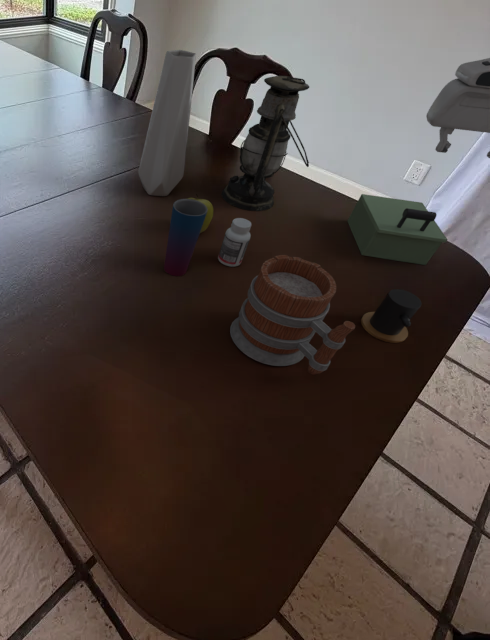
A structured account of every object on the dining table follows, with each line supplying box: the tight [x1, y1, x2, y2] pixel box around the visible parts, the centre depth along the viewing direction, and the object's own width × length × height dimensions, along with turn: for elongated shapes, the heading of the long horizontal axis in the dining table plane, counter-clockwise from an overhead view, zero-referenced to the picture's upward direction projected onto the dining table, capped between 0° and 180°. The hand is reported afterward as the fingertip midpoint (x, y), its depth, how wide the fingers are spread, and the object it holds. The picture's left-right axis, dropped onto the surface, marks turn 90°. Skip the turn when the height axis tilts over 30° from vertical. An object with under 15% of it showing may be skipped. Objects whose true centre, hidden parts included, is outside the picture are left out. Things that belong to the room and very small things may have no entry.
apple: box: [187, 193, 214, 234], centre depth 106 cm, size 8×8×10 cm
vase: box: [137, 49, 197, 197], centre depth 111 cm, size 12×12×33 cm
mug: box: [229, 254, 356, 376], centre depth 76 cm, size 14×19×15 cm
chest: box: [346, 196, 443, 266], centre depth 108 cm, size 17×15×7 cm
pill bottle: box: [217, 217, 252, 268], centre depth 97 cm, size 5×5×10 cm
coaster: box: [360, 311, 409, 344], centre depth 87 cm, size 8×8×1 cm
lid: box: [359, 193, 449, 243], centre depth 103 cm, size 18×15×5 cm
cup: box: [163, 198, 208, 277], centre depth 92 cm, size 7×7×15 cm
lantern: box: [220, 75, 310, 212], centre depth 112 cm, size 19×19×30 cm
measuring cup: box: [370, 288, 422, 335], centre depth 83 cm, size 8×6×7 cm
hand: (465, 154), depth 86 cm, fingers open, 8 cm apart
